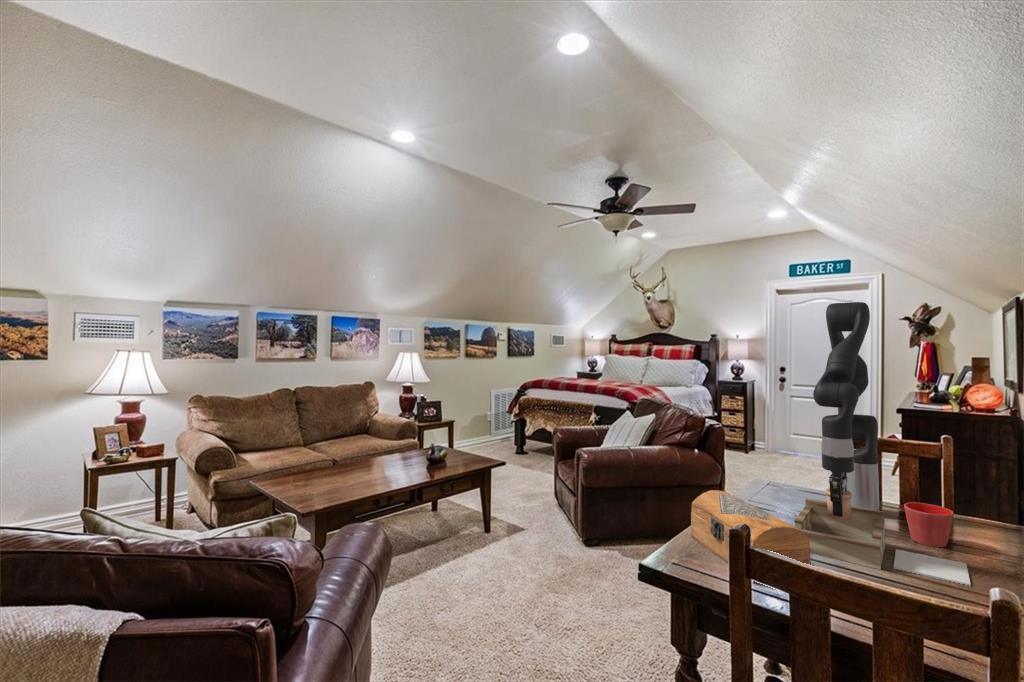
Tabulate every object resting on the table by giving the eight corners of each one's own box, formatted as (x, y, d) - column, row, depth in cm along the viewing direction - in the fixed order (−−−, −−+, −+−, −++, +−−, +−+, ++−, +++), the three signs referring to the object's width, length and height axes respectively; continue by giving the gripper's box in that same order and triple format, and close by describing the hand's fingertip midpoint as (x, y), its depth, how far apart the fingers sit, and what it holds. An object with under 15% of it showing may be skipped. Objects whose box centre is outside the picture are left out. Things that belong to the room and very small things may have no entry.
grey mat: (896, 550, 130) (895, 549, 130) (966, 565, 121) (966, 563, 121) (893, 568, 119) (893, 566, 119) (970, 586, 110) (970, 584, 110)
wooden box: (687, 537, 141) (686, 490, 142) (738, 534, 143) (737, 488, 144) (748, 586, 112) (747, 527, 112) (812, 581, 114) (811, 524, 114)
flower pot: (965, 551, 130) (963, 515, 130) (919, 548, 132) (918, 513, 132) (938, 536, 140) (937, 503, 140) (896, 533, 142) (895, 501, 142)
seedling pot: (827, 511, 137) (827, 480, 138) (854, 515, 133) (853, 484, 133) (824, 517, 133) (823, 485, 133) (851, 522, 129) (850, 489, 129)
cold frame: (806, 529, 146) (805, 498, 146) (885, 545, 134) (884, 511, 134) (793, 549, 132) (793, 514, 132) (881, 569, 119) (880, 531, 119)
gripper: (825, 447, 141) (827, 503, 141) (817, 456, 130) (819, 517, 130) (856, 450, 136) (858, 508, 136) (850, 459, 125) (852, 523, 125)
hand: (839, 512), depth 133 cm, fingers closed on seedling pot, 5 cm apart
